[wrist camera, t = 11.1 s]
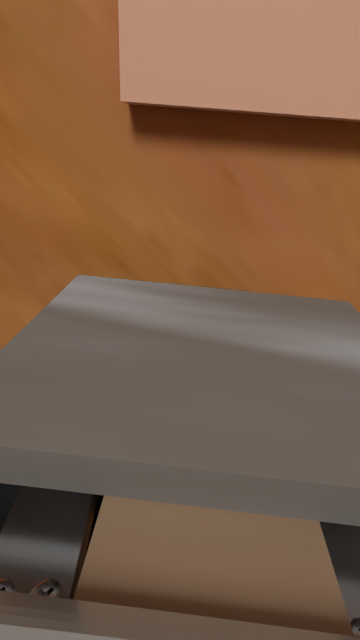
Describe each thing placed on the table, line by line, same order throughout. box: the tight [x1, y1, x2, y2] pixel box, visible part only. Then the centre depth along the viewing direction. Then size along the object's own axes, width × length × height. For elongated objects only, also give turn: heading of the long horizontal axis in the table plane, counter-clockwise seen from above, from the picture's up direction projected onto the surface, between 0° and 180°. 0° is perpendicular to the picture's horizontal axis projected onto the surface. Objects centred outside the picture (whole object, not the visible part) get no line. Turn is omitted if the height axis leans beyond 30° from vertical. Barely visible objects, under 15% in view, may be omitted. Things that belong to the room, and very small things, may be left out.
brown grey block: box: [0, 275, 360, 636], centre depth 8 cm, size 5×8×10 cm, turn 86°
